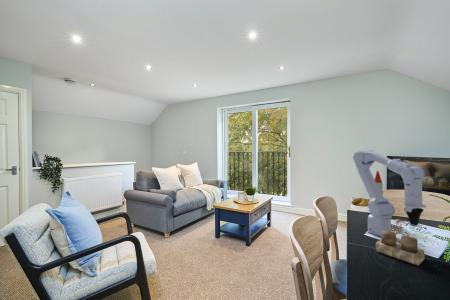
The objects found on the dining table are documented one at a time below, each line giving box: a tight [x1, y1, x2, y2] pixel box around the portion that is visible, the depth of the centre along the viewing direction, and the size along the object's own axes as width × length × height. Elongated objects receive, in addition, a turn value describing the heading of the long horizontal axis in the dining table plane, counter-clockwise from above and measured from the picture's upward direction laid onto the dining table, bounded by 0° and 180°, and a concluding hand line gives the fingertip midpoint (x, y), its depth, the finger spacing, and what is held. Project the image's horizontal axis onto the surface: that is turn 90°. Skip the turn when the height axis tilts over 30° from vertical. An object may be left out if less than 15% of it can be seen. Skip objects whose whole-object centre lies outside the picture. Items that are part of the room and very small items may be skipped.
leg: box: [400, 235, 419, 253], centre depth 84 cm, size 5×5×8 cm
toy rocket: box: [374, 170, 384, 197], centre depth 122 cm, size 6×6×30 cm
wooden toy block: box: [375, 230, 425, 266], centre depth 86 cm, size 14×8×8 cm, turn 33°
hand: (414, 224), depth 91 cm, fingers closed
